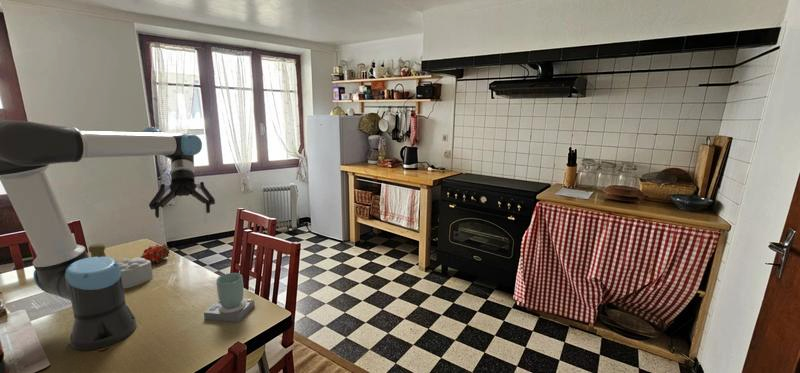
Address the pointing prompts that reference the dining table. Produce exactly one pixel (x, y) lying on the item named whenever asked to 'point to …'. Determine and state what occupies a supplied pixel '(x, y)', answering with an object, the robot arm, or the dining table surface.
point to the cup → (230, 289)
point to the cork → (97, 250)
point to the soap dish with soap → (229, 311)
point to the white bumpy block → (135, 271)
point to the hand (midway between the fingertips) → (183, 222)
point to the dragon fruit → (156, 253)
